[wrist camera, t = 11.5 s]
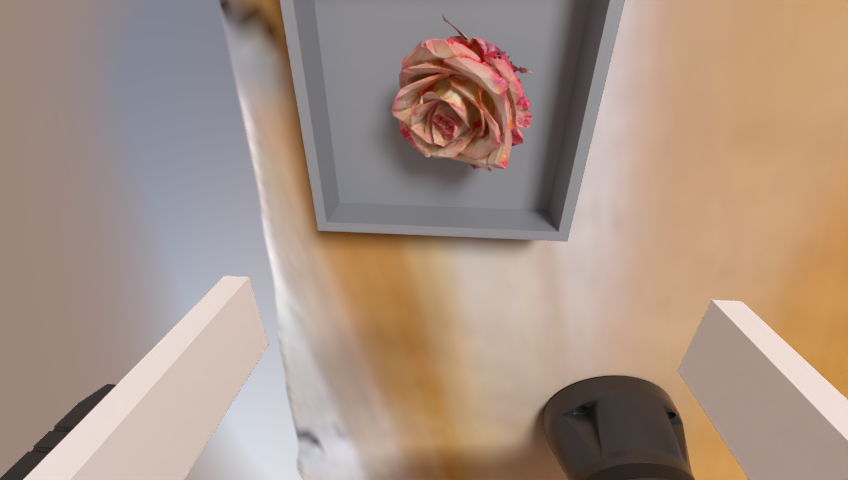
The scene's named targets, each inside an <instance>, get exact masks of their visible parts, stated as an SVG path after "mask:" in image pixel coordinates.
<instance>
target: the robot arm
mask: <svg viewBox="0 0 848 480" xmlns="http://www.w3.org/2000/svg"><path fill="white" fill-rule="evenodd" d="M268 345H269V344H268V340H267V337H266V333H265V330H264V326H263V323H262V320H261V316H260V313H259V310H258V306H257V302H256V299H255V295H254V292H253V288H252V285H251V282H250V278H249V277H240V276H224V277H223V278H222V279H221V280H220V281H219V282H218V283H217V284H216V285H215V286H214V287H213V288H212V289H211V290H210V292H208V293H207V294H206V295H205V296H204V297H203V298H202V299H201V300H200V301H199V303H197V304H196V305H195V306H194V307H193V308H192V309H191V310H190V311H189V312H188V314H187V315H186V316H184V318H183V319H182V320H181V321H180V322H179V323H178V324H177V325H176V326H175V327H174V328H173V329H172V330H171V331H170V332H169V333H168V334H167V335H166V336H165V337H164V338H163V339H162V340H161V341H160V342H159V343H158V344H157V345H156V346H155V347H154V348H153V349H152V350H151V351H150V352H149V353H148V354H147V355H146V356H145V357H144V358H143V359H142V360H141V361H140V362H139V363H138V364H137V365H136V366H135V367H134V368H133V369H132V370H131V371H130V372H129V373H128V374H127V375H126V376H125V377H124V378H123V379H122V380H121V381H120V382H119V383H118V384H117V385H112V384H107V385H105V386H104V387H102V388H101V389H100V390H98V391H97V392H95V393H93V394H92V395H90V396H89V397H87V398H86V399H84V400H83V401H81V402H80V403H78V404H77V405H76V406H75V407H74V408H73V409H72V410H71V411H70V412H69V413H68V414H67V415H66V416H65V417H64V418H63V419H62V420H61V421H59V422H58V423H57V425H55V426H54V427H55V428H54V430H53V431H49V432H48V433H47V434H46V435H45V436H44V437H43V438H42V439H41V440H40V441H39V442H38V443H37V444H36V445H34V449H33V450H32V451H31V452H27V453H26V454H25V455H24V456H23V457H22V458H21V459H20V460H19V461H18V462H17V463H16V464H15V465H14V466H12V468H10V469H9V470H8V471H7V472H6V473H5V474H4V475H3V476H2V477H1V478H0V480H184V479H185V478H186V476H187V474H188V473H189V471H190V470H191V468H192V466H193V465H194V463H195V462H196V460H197V458H198V457H199V455H200V454H201V452H202V450H203V448H204V447H205V446H206V444H207V442H208V441H209V439H210V437H211V436H212V434H213V433H214V431H215V430H216V428H217V426H218V425H219V423H220V421H221V420H222V418H223V417H224V415H225V413H226V412H227V410H228V409H229V407H230V405H231V404H232V402H233V401H234V399H235V397H236V396H237V394H238V393H239V391H240V389H241V388H242V386H243V385H244V383H245V381H246V380H247V378H248V377H249V375H250V373H251V372H252V370H253V369H254V367H255V365H256V364H257V362H258V361H259V359H260V357H261V356H262V354H263V353H264V351H265V349H266V348H267V346H268ZM677 371H678V372H679V374H680V375H681V377H682V378H683V380H684V381H685V383H686V384H687V386H688V387H689V389H690V390H691V392H692V394H693V395H694V397H695V398H696V400H697V401H698V403H699V404H700V406H701V407H702V409H703V410H704V412H705V413H706V415H707V416H708V418H709V419H710V421H711V422H712V424H713V426H714V427H715V429H716V430H717V432H718V433H719V435H720V436H721V438H722V439H723V441H724V442H725V444H726V445H727V447H728V448H729V450H730V451H731V453H732V454H733V456H734V458H735V459H736V461H737V462H738V464H739V465H740V467H741V468H742V470H743V471H744V473H745V474H746V476H747V477H748V479H749V480H848V400H847V399H846V398H845V397H844V396H843V395H842V394H841V393H840V392H838V391H837V390H836V389H835V388H834V387H833V386H832V385H831V384H830V383H829V382H828V381H827V380H826V379H825V378H823V377H822V376H821V375H820V374H819V373H818V372H817V371H816V370H815V369H814V368H813V367H812V366H811V365H810V364H808V363H807V362H806V361H805V360H804V359H803V358H802V357H801V356H800V355H799V354H798V353H797V352H796V351H794V350H793V349H792V348H791V347H790V346H789V345H788V344H787V343H786V342H785V341H784V340H783V339H782V338H781V337H779V336H778V335H777V334H776V333H775V332H774V331H773V330H772V329H771V328H770V327H769V326H768V325H767V324H765V323H764V322H763V321H762V320H761V319H760V318H759V317H758V316H757V315H756V314H755V313H754V312H753V311H752V310H750V309H749V308H748V307H747V306H746V305H745V304H744V303H743V302H742V301H726V300H711V302H710V304H709V306H708V309H707V311H706V313H705V315H704V317H703V319H702V321H701V323H700V325H699V327H698V329H697V331H696V333H695V335H694V337H693V339H692V341H691V343H690V345H689V347H688V350H687V352H686V354H685V356H684V358H683V360H682V362H681V364H680V366H679V368H678V370H677ZM543 425H544V429H545V434H546V438H547V441H548V444H549V446H550V448H551V449H552V451H553V453H554V455H555V456H556V458H557V460H558V462H559V463H560V465H561V467H562V469H563V471H564V472H565V474H566V476H567V478H568V479H569V480H695V479H694V477H693V475H692V472H691V467H690V461H689V456H688V450H687V445H686V439H685V434H684V428H683V423H682V419H681V417H680V414H679V412H678V411H677V409H676V407H675V405H674V403H673V402H672V400H671V398H670V397H669V395H668V394H667V393H666V392H665V391H664V390H663V389H662V388H660V387H659V386H657V385H655V384H653V383H651V382H649V381H646V380H643V379H639V378H634V377H626V376H606V377H598V378H592V379H588V380H585V381H581V382H579V383H576V384H573V385H571V386H569V387H567V388H565V389H564V390H562V391H561V392H559V393H558V394H557V395H555V396H554V397H553V398H552V399H551V400H550V401H549V403H548V404H547V406H546V408H545V410H544V413H543Z"/></svg>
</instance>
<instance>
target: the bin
mask: <svg viewBox="0 0 848 480" xmlns="http://www.w3.org/2000/svg"><path fill="white" fill-rule="evenodd" d="M624 2H625V0H280V5H281V11H282V17H283V23H284V29H285V35H286V41H287V47H288V53H289V59H290V65H291V71H292V77H293V83H294V89H295V95H296V101H297V107H298V113H299V119H300V125H301V131H302V137H303V143H304V149H305V155H306V161H307V167H308V173H309V179H310V185H311V191H312V197H313V203H314V209H315V215H316V221H317V227H318V231H339V232H363V233H386V234H409V235H432V236H455V237H478V238H501V239H524V240H547V241H568V236H569V232H570V228H571V224H572V220H573V215H574V211H575V207H576V203H577V199H578V194H579V190H580V186H581V182H582V178H583V173H584V169H585V165H586V161H587V157H588V153H589V148H590V144H591V140H592V136H593V132H594V127H595V123H596V119H597V115H598V111H599V106H600V102H601V98H602V94H603V90H604V85H605V81H606V77H607V73H608V69H609V65H610V60H611V56H612V52H613V48H614V44H615V39H616V35H617V31H618V27H619V23H620V18H621V14H622V10H623V6H624ZM442 14H443V16H444V18H445V19H446V20H447V21H448V22H449V23H451V24H452V25H453V26H455V27H456V28H457V29H459V30H460V31H461V32H462V33H464V34H465V35H466V36H467V37H469V38H470V39H472V38H473V37H476V38H482V39H486V41H487V43H489V44H493V45H496V46H497V47H498V48H499V49H500V50H502V51H503V52H504V51H506V53H505V54H506V56H507V57H508V56H510V57H509V58H508V60H509V61H510V62H511V61H512V64H513V65H514V66H516V67H518V68H520V66H521V67H522V68H524V67H525V68H526V69H529V70H530V71H531V72H532V73H534V74H530V73H528V72H526V73H520V72H519V71H516V72H514V73H515V75H516V77H518V78H519V79H520V81H521V86H522V88H523V93H524V95H525V96H526V98H527V99H528V100H529V102H530V106H529V110H527V111H530V113H531V115H532V123H531V126H530V127H528V128H527V129H525V128H522V127H519V129H520V130H521V132H522V136H523V143H521V144H518V145H515V146H512V147H511V151H510V155H509V160H508V164H507V167H506V169H500V168H494V167H492V166H491V165H488V167H489V168H490V169H491V171H492V172H490V171H488V170H486V169H484V168H480V169H474V168H472V167H471V166H470V165H469V163H466V162H462V161H458V160H453V159H449V158H435V157H432V155H431V156H430V157H425V155H424V154H423V153H422V152H419V151H417V150H415V149H414V148H413V147H412V146H411V145H410V144H409V143H408V141H407V140H408V138H404V137H403V136H402V135H401V134H400V129H399V126H400V123H399V119H398V118H396V117H394V116H393V113H392V110H391V109H392V106H393V102H394V99H395V97H396V95H397V94H398V92H399V91H400V86H399V74H400V72H401V71H402V60H403V59H404V58H405V57H406V56H408V55H409V54H410V53H411V52H412V51H413V50H414V49H415V48H416V47H417V46H418V45H419V43H420V42H425V41H427V40H431V39H433V38H435V39H441V40H447V39H448V38H449V37H452V36H461V35H460V34H459V33H458V32H457V31H456V30H455V29H454V28H453V26H451V25H450V24H449V23H447V22H446V21H444V19H443V16H442ZM524 112H526V111H524Z"/></svg>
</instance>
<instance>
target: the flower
mask: <svg viewBox="0 0 848 480" xmlns="http://www.w3.org/2000/svg"><path fill="white" fill-rule="evenodd" d="M442 16H443V14H442ZM443 19H444V21H446V22H447V23H449V22H448V21H447V20H446V19H445V18H444V16H443ZM449 24H450V25H451V26H453V25H452V24H451V23H449ZM453 28H454V29H455V30H456V31H457V32H458V33H459V34H460V35H461V36H452V37H449V38H448V39H447V40H441V39H435V38H433V39H431V40H427V41H425V42H420V43H419V45H418V46H417V47H416V48H415V49H414V50H413V51H412V52H411V53H410V54H409V55H408V56H406V57H405V58H404V59H403V60H402V71H401V72H400V74H399V86H400V91H399V92H398V94H397V95H396V97H395V99H394V102H393V106H392V109H391V110H392V113H393V116H394V117H396V118H398V119H399V123H400V126H399V129H400V134H401V135H402V136H403V137H404V138H408V140H407V141H408V143H409V144H410V145H411V146H412V147H413V148H414V149H415V150H417V151H419V152H422V153H423V154H424V155H425V157H430V156H431V155H432V157H435V158H449V159H453V160H458V161H462V162H466V163H469V165H470V166H471V167H472V168H474V169H480V168H484V169H486V170H488V171H490V172H492V171H491V169H490V168H489V167H488V165H491V166H492V167H494V168H500V169H506V167H507V164H508V160H509V155H510V151H511V147H512V146H515V145H518V144H521V143H523V136H522V132H521V130H520V129H519V127H522V128H525V129H527V128H528V127H530V126H531V123H532V115H531V113H530V111H527V110H529V106H530V102H529V100H528V99H527V98H526V96H525V95H524V93H523V88H522V86H521V81H520V79H519V78H518V77H516V75H515V73H514V72H516V71H519V72H520V73H526V72H528V73H530V74H534V73H532V72H531V71H530V70H529V69H526V68H525V67H524V68H522V67H521V66H520V68H518V67H516V66H514V65H513V64H512V61H511V62H510V61H509V60H508V58H509V57H510V56H508V57H507V56H506V54H505V53H506V51H504V52H503V51H502V50H500V49H499V48H498V47H497V46H496V45H493V44H489V43H487V41H486V39H482V38H476V37H473V38H472V39H470V38H469V37H467V36H466V35H465V34H464V33H462V32H461V31H460V30H459V29H457V28H456V27H455V26H453ZM524 111H526V112H524Z"/></svg>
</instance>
